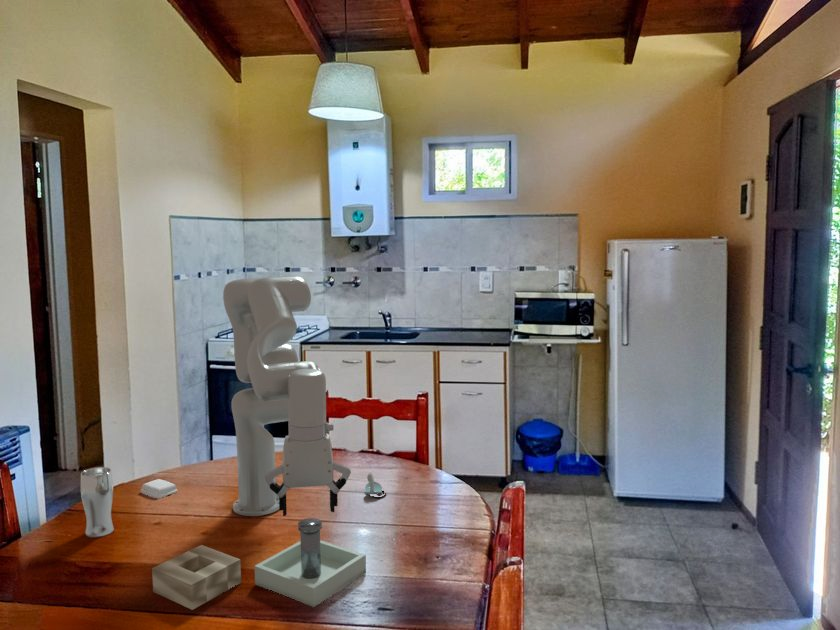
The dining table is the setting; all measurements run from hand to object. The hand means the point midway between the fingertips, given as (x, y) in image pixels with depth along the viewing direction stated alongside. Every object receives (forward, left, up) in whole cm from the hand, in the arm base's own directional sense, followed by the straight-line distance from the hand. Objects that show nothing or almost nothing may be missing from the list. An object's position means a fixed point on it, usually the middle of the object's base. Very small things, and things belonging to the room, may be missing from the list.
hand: (308, 511), depth 137 cm
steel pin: (0, +1, -13) cm, 13 cm away
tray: (0, +1, -14) cm, 14 cm away
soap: (-12, -67, -15) cm, 70 cm away
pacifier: (-43, -16, -15) cm, 48 cm away
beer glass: (+11, -57, -14) cm, 60 cm away
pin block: (+15, -16, -14) cm, 27 cm away
